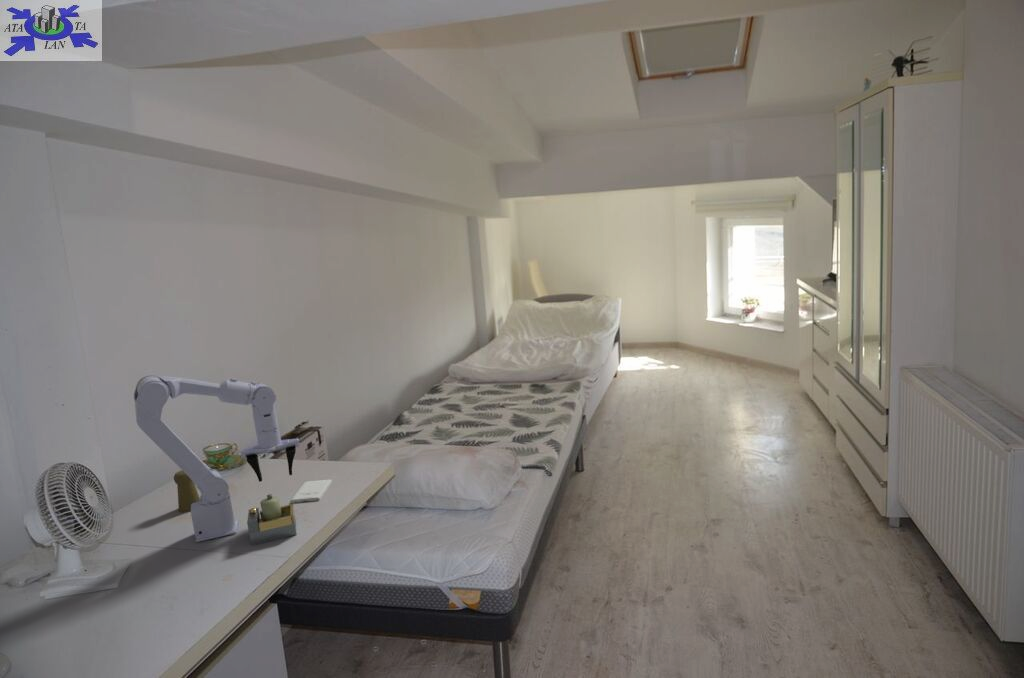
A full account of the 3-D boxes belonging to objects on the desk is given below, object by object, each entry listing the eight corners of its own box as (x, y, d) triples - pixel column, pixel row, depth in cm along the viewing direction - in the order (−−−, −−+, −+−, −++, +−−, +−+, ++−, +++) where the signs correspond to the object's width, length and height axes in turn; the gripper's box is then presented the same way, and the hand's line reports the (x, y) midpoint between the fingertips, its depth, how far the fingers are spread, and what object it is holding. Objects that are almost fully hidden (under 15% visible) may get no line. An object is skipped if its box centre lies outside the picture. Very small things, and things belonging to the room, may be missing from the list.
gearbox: (251, 545, 159) (246, 519, 157) (253, 531, 166) (248, 506, 165) (296, 534, 162) (291, 509, 161) (295, 521, 169) (291, 497, 168)
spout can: (263, 526, 161) (258, 502, 160) (264, 519, 165) (260, 495, 164) (281, 522, 162) (277, 498, 161) (282, 515, 166) (278, 491, 165)
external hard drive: (332, 484, 194) (320, 502, 182) (305, 486, 194) (291, 504, 182) (331, 479, 194) (319, 496, 181) (304, 481, 194) (290, 499, 182)
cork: (206, 502, 189) (199, 466, 187) (194, 511, 183) (186, 474, 181) (186, 503, 189) (179, 467, 187) (174, 512, 183) (166, 476, 181)
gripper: (236, 438, 166) (246, 488, 169) (296, 427, 171) (304, 476, 173) (238, 431, 173) (247, 479, 176) (295, 420, 177) (303, 467, 180)
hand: (275, 477), depth 175 cm, fingers open, 7 cm apart
